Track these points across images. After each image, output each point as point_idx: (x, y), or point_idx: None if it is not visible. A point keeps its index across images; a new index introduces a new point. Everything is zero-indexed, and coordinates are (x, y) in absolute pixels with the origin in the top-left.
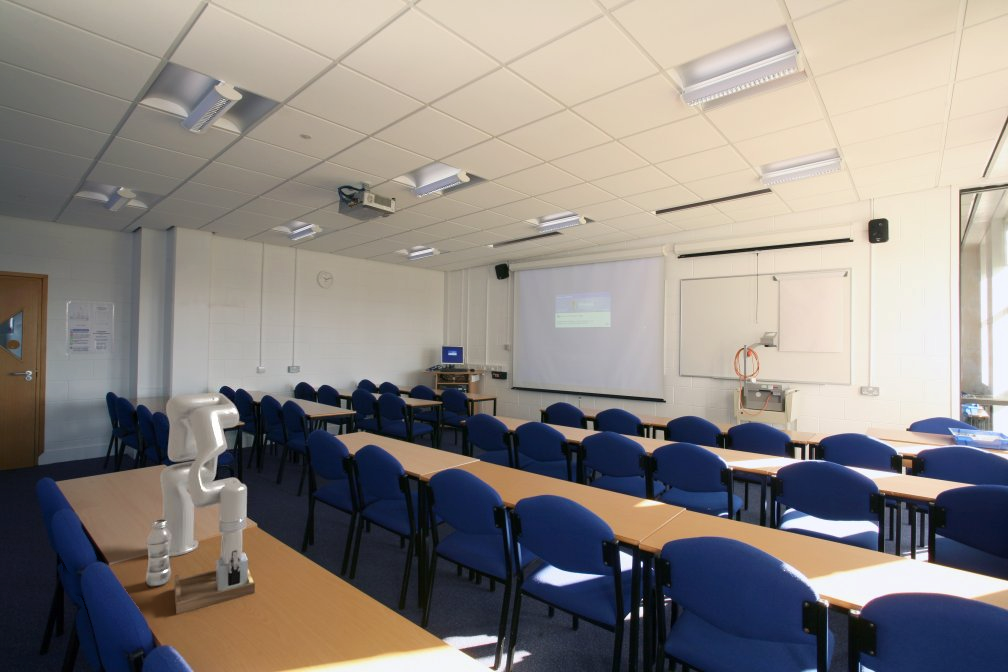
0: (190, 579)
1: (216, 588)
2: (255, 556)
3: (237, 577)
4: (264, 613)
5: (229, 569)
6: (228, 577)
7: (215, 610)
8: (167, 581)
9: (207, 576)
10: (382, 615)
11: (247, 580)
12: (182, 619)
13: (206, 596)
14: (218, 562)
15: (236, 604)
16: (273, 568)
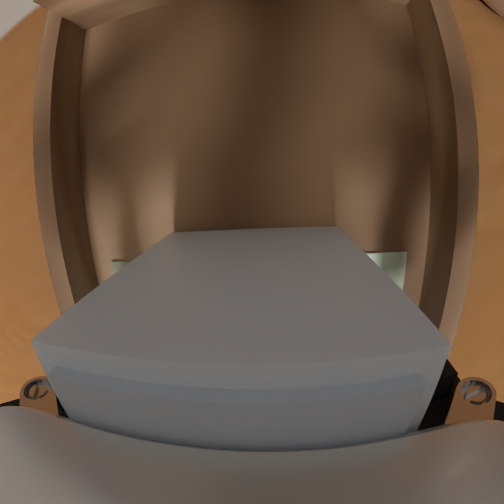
0: (436, 54)
1: (236, 222)
2: (496, 397)
3: None
4: (3, 359)
5: (26, 403)
6: None
7: (31, 211)
8: (490, 6)
9: (443, 174)
10: None
11: None
12: (32, 72)
13: (34, 163)
14: (220, 381)
15: (51, 303)
16: None
